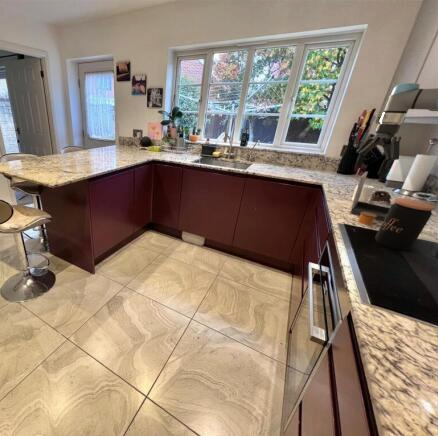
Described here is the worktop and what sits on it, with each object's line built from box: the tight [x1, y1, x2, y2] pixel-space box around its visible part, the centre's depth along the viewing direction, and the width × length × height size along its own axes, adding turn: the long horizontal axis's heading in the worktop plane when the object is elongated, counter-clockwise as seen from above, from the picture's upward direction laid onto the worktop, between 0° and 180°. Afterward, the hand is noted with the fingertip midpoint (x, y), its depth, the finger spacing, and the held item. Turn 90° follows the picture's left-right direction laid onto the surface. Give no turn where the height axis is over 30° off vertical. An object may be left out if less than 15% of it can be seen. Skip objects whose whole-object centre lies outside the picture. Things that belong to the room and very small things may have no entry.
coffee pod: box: [357, 212, 377, 226], centre depth 110 cm, size 6×6×5 cm
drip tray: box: [350, 201, 390, 222], centre depth 122 cm, size 15×19×3 cm
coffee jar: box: [374, 197, 437, 252], centre depth 90 cm, size 11×11×18 cm
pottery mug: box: [369, 190, 392, 205], centre depth 140 cm, size 12×10×8 cm
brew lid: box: [350, 171, 369, 209], centre depth 123 cm, size 16×19×1 cm
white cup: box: [351, 183, 375, 203], centre depth 139 cm, size 8×8×10 cm
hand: (368, 171), depth 112 cm, fingers open, 13 cm apart
